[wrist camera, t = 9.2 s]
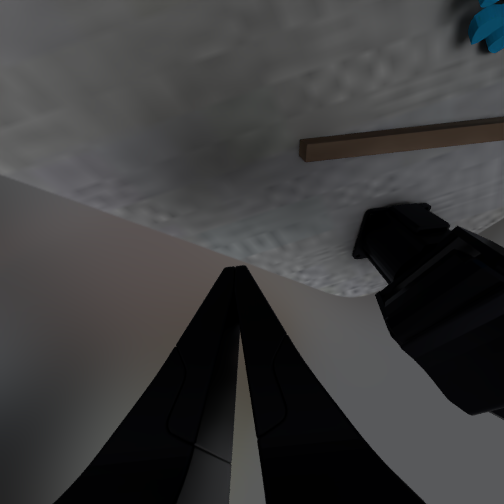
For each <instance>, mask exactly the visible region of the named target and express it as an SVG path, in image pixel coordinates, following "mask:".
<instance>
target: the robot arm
mask: <svg viewBox="0 0 504 504" xmlns="http://www.w3.org/2000/svg"><path fill="white" fill-rule="evenodd" d="M430 209H431V206H430V205H429V204H427V203H423V204H417V203H414V204H405V205H395V206H391V207H386V208H377V209H370V210H368V211H367V212H366V213H365V216H364V219H363V222H362V225H361V228H360V232H359V235H358V238H357V241H356V244H355V247H354V251H353V254H352V256H353V257H354V259H362V258H368V259H369V260H370V261H371V263H372V264H373V265H374V266H375V268H376V269H377V270H378V271H379V273H380V274H381V275H382V276H383V278H384V279H385V280H386V281H387V283H388V284H389V285H388V286H386V287H385V288H384V289H383V290H382V291H379V292H378V293H376V294H375V296H376V299H377V302H378V304H379V307H380V310H381V312H382V315H383V318H384V320H385V323H386V325H387V328H388V330H389V332H390V335H391V337H392V338H393V339H394V340H395V341H396V342H397V343H398V344H399V345H400V347H401V349H402V350H404V351H405V352H406V353H407V354H408V355H409V356H411V357H412V358H413V359H414V360H415V361H416V362H417V363H418V364H419V365H420V366H421V367H422V368H423V369H424V370H425V371H426V373H427V374H428V375H429V376H430V377H431V379H432V380H433V381H434V382H435V384H436V385H437V386H438V388H439V389H440V390H441V391H442V393H443V394H444V395H445V396H446V398H447V399H448V400H449V401H451V402H452V403H453V404H455V405H456V406H458V407H459V408H460V409H462V410H463V411H464V412H466V413H467V414H469V415H477V414H481V413H485V412H490V413H492V414H494V415H496V416H498V417H499V418H501V419H503V420H504V248H503V247H502V246H500V245H498V244H496V243H494V242H493V241H491V240H488V239H486V238H484V237H482V236H479V235H477V234H475V233H473V232H471V231H468V230H466V229H464V228H462V227H459V226H456V227H455V228H454V229H453V230H452V231H451V230H449V227H450V225H449V223H448V222H446V221H444V220H443V219H441V218H440V217H438V216H436V215H435V214H433V213H431V212H430ZM370 214H372V215H370ZM240 333H241V339H242V346H243V352H244V359H245V365H246V372H247V378H248V384H249V391H250V397H251V404H252V410H253V417H254V423H255V430H256V436H257V439H258V440H257V443H258V449H259V456H260V463H261V469H262V477H263V485H264V492H265V500H266V504H426V503H425V502H424V501H423V500H422V499H421V498H420V497H419V496H418V495H417V494H416V493H415V492H414V491H413V490H412V489H411V488H410V487H409V486H408V485H407V484H406V483H405V482H404V481H403V480H401V479H400V478H399V476H397V475H396V474H395V473H394V472H393V471H392V470H391V469H390V468H389V467H388V466H387V465H386V464H385V463H384V462H383V460H382V459H381V458H380V457H379V456H378V455H377V454H376V452H375V451H374V450H373V449H372V448H371V447H370V446H369V444H368V443H367V442H366V441H365V440H364V438H363V437H362V436H361V435H360V434H359V432H358V431H357V430H356V429H355V427H354V426H353V425H352V423H351V422H350V421H349V419H348V418H347V417H346V416H345V414H344V413H343V412H342V410H341V409H340V408H339V407H338V405H337V404H336V403H335V402H334V400H333V399H332V397H331V396H330V395H329V394H328V392H327V391H326V390H325V388H324V387H323V386H322V385H321V383H320V382H319V381H318V379H317V378H316V377H315V375H314V374H313V372H312V371H311V370H310V368H309V367H308V365H307V364H306V363H305V361H304V360H303V358H302V357H301V356H300V354H299V352H298V351H297V349H296V348H295V346H294V344H293V343H292V341H291V339H290V338H289V336H288V335H287V333H286V331H285V330H284V328H283V326H282V325H281V323H280V321H279V320H278V318H277V316H276V315H275V313H274V311H273V310H272V308H271V306H270V305H269V303H268V301H267V300H266V298H265V297H264V295H263V293H262V291H261V290H260V288H259V286H258V285H257V283H256V282H255V280H254V278H253V277H252V275H251V273H250V272H249V270H248V268H247V267H246V266H245V265H242V266H236V267H234V266H233V267H226V268H224V269H223V271H222V273H221V274H220V276H219V277H218V279H217V280H216V282H215V284H214V285H213V287H212V288H211V290H210V292H209V293H208V295H207V296H206V298H205V300H204V301H203V303H202V305H201V306H200V307H199V309H198V311H197V312H196V314H195V316H194V317H193V319H192V320H191V322H190V323H189V325H188V327H187V328H186V330H185V331H184V333H183V335H182V336H181V338H180V339H179V341H178V343H177V344H176V346H177V347H174V349H173V350H172V352H171V353H170V355H169V357H168V358H167V360H166V361H165V363H164V364H163V366H162V367H161V369H160V371H159V372H158V373H157V375H156V376H155V378H154V379H153V381H152V382H151V383H150V385H149V386H148V387H147V389H146V390H145V392H144V393H143V394H142V396H141V397H140V398H139V400H138V401H137V402H136V404H135V405H134V406H133V408H132V409H131V410H130V412H129V413H128V414H127V416H126V417H125V419H124V420H123V421H122V422H121V424H120V425H119V426H118V428H117V429H116V430H115V432H114V433H113V434H112V436H111V437H110V438H109V440H108V441H107V442H106V444H105V445H104V446H103V448H102V449H101V450H100V452H99V453H98V454H97V455H96V457H95V458H94V460H93V461H92V462H91V463H90V464H89V466H88V467H87V468H86V469H85V470H84V472H83V473H82V474H81V475H80V476H79V477H78V478H77V480H76V481H75V482H74V483H73V484H72V485H71V486H70V487H69V488H68V489H67V490H66V491H65V492H64V493H63V494H62V495H61V496H60V498H58V500H56V501H55V502H54V503H53V504H229V493H230V478H231V477H230V476H231V461H232V446H233V431H234V414H235V400H236V384H237V368H238V352H239V338H240Z"/></svg>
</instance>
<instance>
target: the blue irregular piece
mask: <svg viewBox="0 0 504 504" xmlns="http://www.w3.org/2000/svg"><path fill="white" fill-rule="evenodd" d="M478 1H479V4H480V6H481V7H486V8H484V9H482V10H481V11H480V12H478V13H477V14H476V15H475V16H474V17H473V19H472V21H471V23H470V25H469V29H468V35H469V38H470V42H471V45H472V44H475V43H478V42H480V41H481V40H483V39H484V38H485V40H486V44H487V47H488V50H489V51H490V52H492V53H496V52H498V51H500V50H501V49H503V48H504V4H494V3H496V2H497V1H499V0H478ZM492 4H493V5H492Z"/></svg>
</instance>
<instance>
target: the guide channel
mask: <svg viewBox="0 0 504 504" xmlns="http://www.w3.org/2000/svg"><path fill="white" fill-rule="evenodd" d="M501 140H504V117H497V118H488V119H479V120H470V121H461V122H452V123H443V124H434V125H425V126H416V127H407V128H399V129H390V130H381V131H372V132H363V133H354V134H345V135H336V136H327V137H318V138H309V139H300V149H299V156H300V157H301V158H302V159H303V160H304V161H305V162H312V161H321V160H330V159H339V158H348V157H357V156H366V155H375V154H384V153H393V152H402V151H411V150H420V149H429V148H438V147H447V146H456V145H465V144H474V143H483V142H492V141H501Z"/></svg>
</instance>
